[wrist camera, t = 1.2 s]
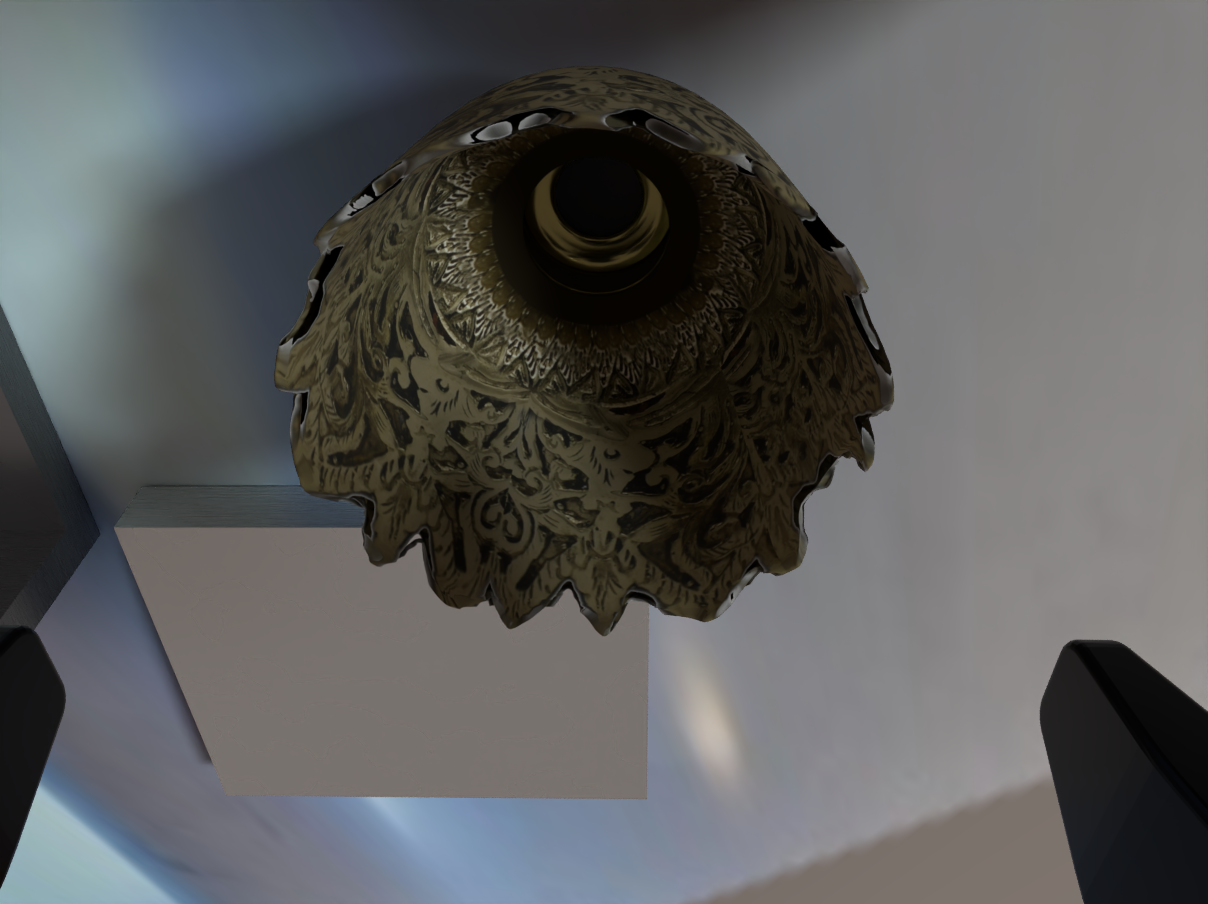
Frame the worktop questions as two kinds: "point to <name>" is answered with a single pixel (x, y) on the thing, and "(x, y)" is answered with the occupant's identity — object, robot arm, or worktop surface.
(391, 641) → the flat plate
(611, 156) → the cup
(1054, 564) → the worktop surface
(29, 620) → the press rail
